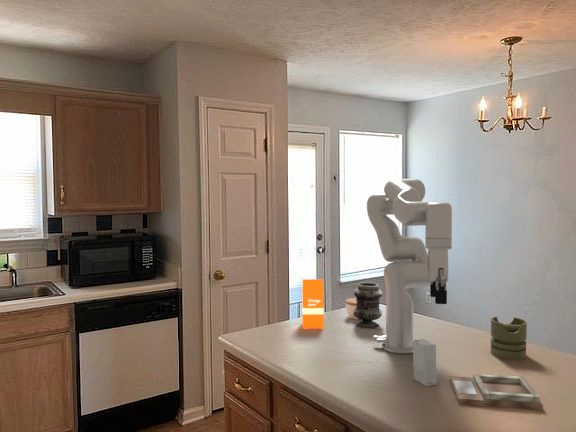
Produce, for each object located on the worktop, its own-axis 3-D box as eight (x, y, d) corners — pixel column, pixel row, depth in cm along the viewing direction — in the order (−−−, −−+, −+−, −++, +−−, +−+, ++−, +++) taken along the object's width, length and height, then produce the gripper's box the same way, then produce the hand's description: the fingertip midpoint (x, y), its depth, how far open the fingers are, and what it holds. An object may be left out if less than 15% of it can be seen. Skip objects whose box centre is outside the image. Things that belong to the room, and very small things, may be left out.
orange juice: (323, 328, 200) (323, 281, 199) (302, 328, 200) (302, 281, 199) (322, 323, 208) (322, 277, 207) (302, 323, 208) (302, 277, 207)
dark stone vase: (375, 331, 196) (375, 287, 195) (348, 327, 202) (348, 284, 201) (386, 324, 206) (386, 282, 205) (360, 320, 212) (360, 280, 211)
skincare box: (437, 384, 141) (437, 344, 141) (424, 386, 140) (424, 346, 139) (424, 377, 147) (424, 338, 147) (412, 379, 146) (412, 339, 145)
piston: (488, 315, 173) (521, 317, 171) (487, 348, 174) (520, 350, 172) (494, 324, 162) (530, 325, 160) (494, 358, 163) (530, 361, 161)
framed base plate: (458, 404, 128) (458, 393, 128) (449, 380, 144) (449, 371, 144) (542, 410, 125) (543, 398, 124) (524, 385, 140) (524, 375, 140)
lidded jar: (344, 320, 213) (344, 299, 213) (345, 314, 224) (345, 294, 223) (369, 321, 211) (369, 299, 211) (369, 314, 222) (369, 294, 221)
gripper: (421, 240, 153) (421, 294, 153) (429, 246, 136) (429, 306, 136) (446, 241, 152) (445, 294, 152) (457, 246, 135) (456, 307, 135)
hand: (438, 300), depth 144 cm, fingers open, 9 cm apart
